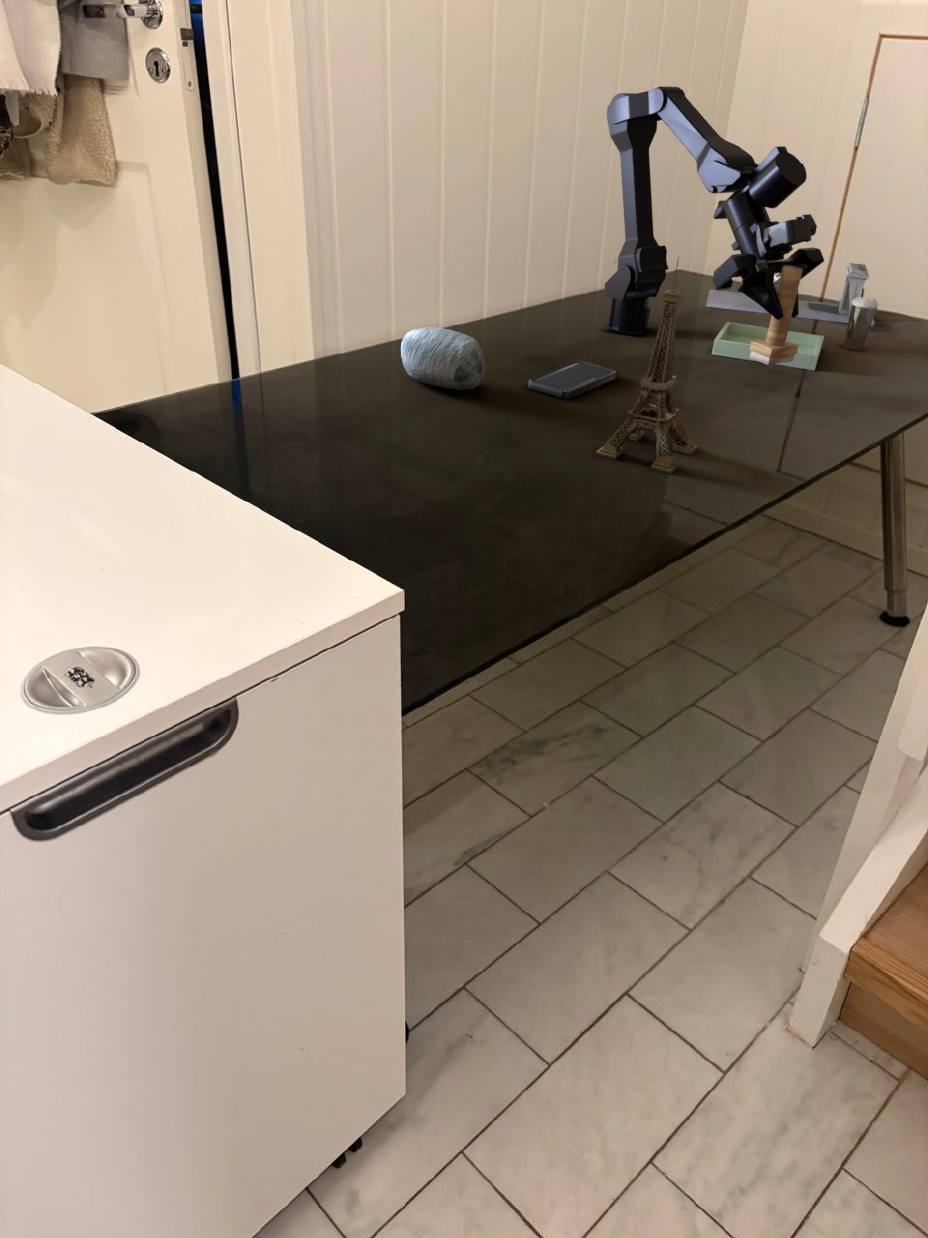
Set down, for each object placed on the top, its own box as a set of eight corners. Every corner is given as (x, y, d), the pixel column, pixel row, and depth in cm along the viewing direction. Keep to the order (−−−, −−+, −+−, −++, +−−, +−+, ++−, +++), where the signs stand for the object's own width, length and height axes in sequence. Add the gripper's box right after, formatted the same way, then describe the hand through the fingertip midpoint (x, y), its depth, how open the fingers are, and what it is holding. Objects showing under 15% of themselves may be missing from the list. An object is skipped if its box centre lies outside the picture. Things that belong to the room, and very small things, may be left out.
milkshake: (860, 344, 178) (876, 289, 172) (868, 352, 173) (884, 296, 168) (836, 342, 178) (850, 287, 173) (843, 350, 173) (857, 294, 168)
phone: (525, 380, 146) (578, 359, 156) (525, 387, 147) (577, 366, 157) (568, 392, 142) (619, 370, 152) (567, 400, 143) (618, 377, 153)
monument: (873, 326, 189) (887, 276, 184) (705, 306, 196) (714, 257, 191) (868, 310, 200) (881, 263, 195) (709, 292, 206) (717, 246, 201)
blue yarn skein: (505, 364, 146) (479, 309, 139) (475, 406, 142) (446, 352, 135) (439, 365, 154) (411, 314, 148) (408, 404, 150) (378, 354, 144)
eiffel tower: (625, 430, 134) (652, 243, 120) (697, 448, 129) (734, 256, 116) (595, 454, 126) (621, 257, 112) (670, 473, 122) (707, 271, 108)
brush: (768, 365, 148) (789, 272, 141) (747, 357, 151) (767, 266, 144) (794, 361, 151) (817, 269, 143) (774, 353, 154) (795, 263, 146)
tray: (711, 354, 167) (714, 339, 166) (723, 335, 178) (726, 321, 177) (814, 370, 162) (818, 355, 161) (820, 350, 173) (824, 335, 172)
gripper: (742, 196, 137) (781, 293, 135) (830, 191, 145) (868, 283, 143) (695, 242, 147) (731, 333, 145) (780, 235, 155) (815, 321, 153)
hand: (788, 317), depth 146 cm, fingers closed on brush, 3 cm apart
